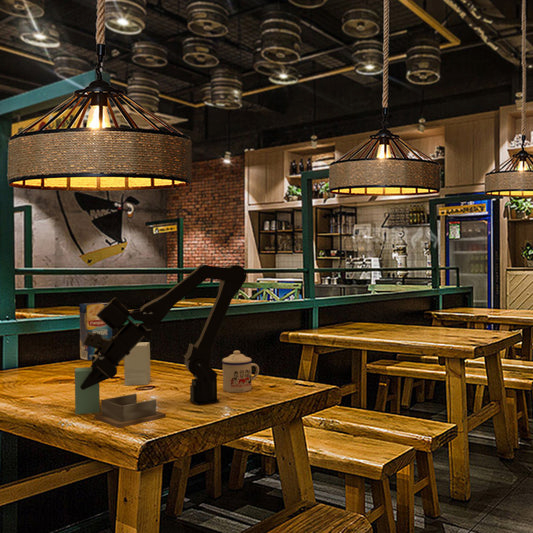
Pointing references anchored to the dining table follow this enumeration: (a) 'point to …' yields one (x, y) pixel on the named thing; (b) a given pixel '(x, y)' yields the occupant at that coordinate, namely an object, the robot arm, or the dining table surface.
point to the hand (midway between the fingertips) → (81, 386)
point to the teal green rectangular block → (86, 393)
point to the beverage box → (91, 327)
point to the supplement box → (138, 365)
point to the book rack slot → (127, 411)
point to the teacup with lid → (238, 373)
